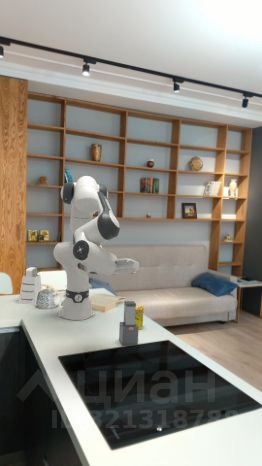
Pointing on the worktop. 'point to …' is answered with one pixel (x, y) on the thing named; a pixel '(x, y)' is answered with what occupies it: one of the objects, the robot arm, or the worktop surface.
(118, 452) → the worktop surface
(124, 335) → the base
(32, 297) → the grater
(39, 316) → the worktop surface
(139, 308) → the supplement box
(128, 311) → the jack column
